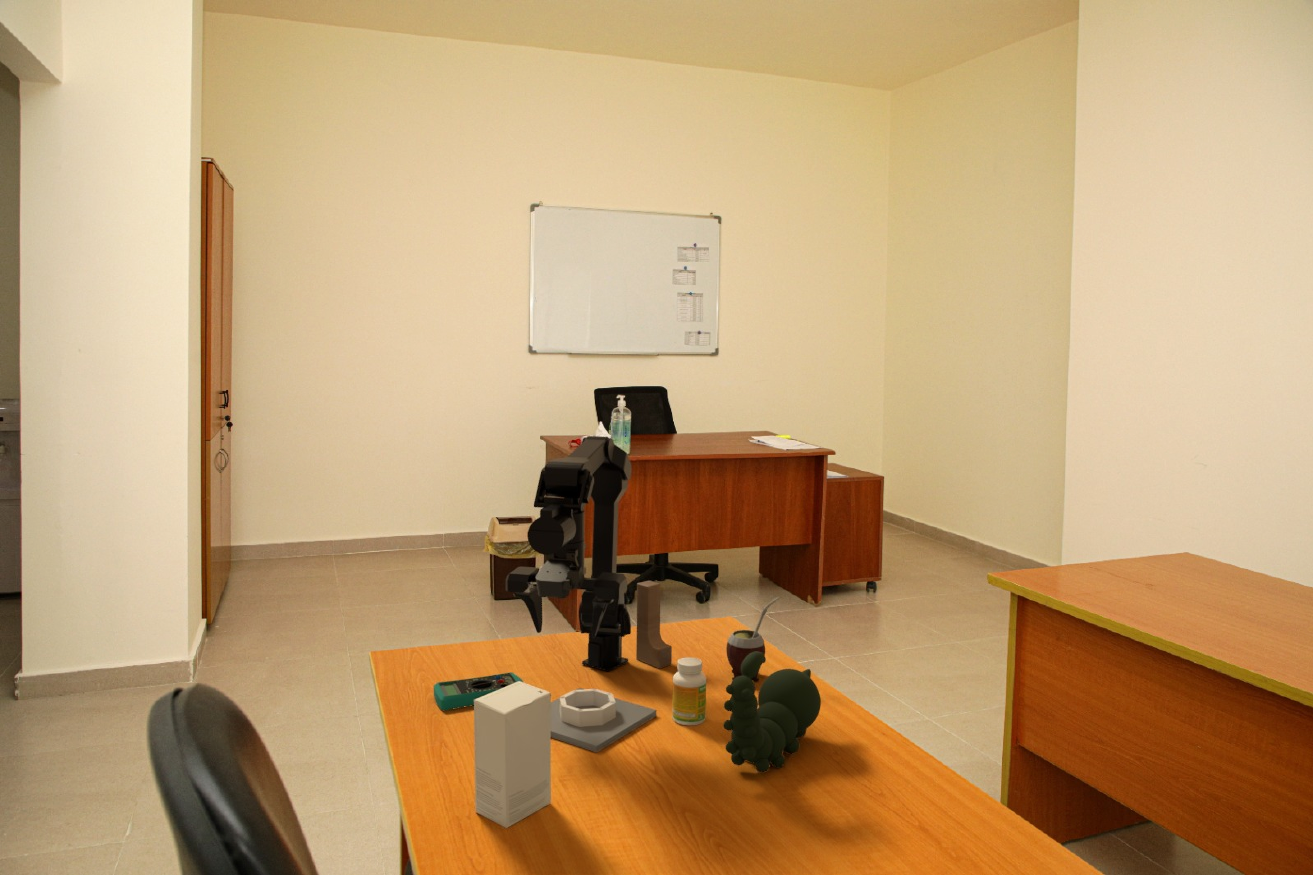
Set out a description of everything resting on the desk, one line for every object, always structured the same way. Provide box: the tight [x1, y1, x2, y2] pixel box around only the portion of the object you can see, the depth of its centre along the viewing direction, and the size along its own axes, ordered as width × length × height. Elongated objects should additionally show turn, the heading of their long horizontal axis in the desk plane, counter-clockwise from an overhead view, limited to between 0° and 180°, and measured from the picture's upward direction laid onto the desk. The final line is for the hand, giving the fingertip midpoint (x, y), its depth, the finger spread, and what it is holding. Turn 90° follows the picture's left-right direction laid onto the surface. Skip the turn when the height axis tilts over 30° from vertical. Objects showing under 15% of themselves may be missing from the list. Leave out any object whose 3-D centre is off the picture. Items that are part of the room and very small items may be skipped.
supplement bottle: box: [671, 656, 707, 726], centre depth 146 cm, size 5×5×10 cm
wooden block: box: [635, 580, 673, 669], centre depth 172 cm, size 7×3×15 cm, turn 43°
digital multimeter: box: [433, 672, 525, 711], centre depth 155 cm, size 7×15×3 cm, turn 114°
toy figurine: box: [723, 651, 822, 774], centre depth 135 cm, size 9×19×25 cm
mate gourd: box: [725, 597, 780, 683], centre depth 165 cm, size 8×8×15 cm
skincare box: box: [473, 681, 552, 829], centre depth 118 cm, size 8×7×16 cm
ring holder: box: [550, 687, 657, 753], centre depth 146 cm, size 16×16×4 cm
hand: (566, 634), depth 146 cm, fingers open, 9 cm apart
